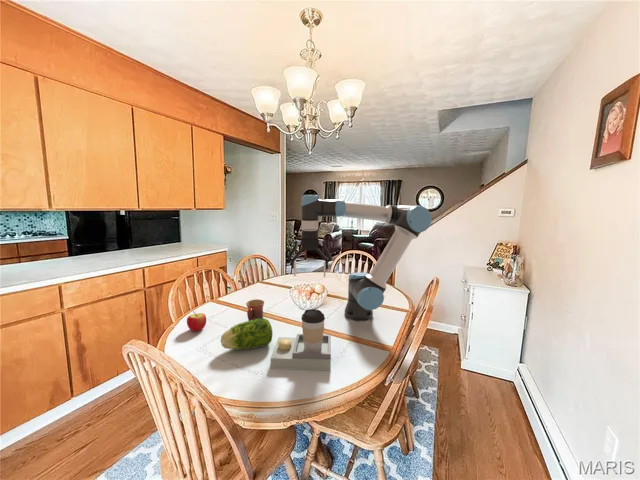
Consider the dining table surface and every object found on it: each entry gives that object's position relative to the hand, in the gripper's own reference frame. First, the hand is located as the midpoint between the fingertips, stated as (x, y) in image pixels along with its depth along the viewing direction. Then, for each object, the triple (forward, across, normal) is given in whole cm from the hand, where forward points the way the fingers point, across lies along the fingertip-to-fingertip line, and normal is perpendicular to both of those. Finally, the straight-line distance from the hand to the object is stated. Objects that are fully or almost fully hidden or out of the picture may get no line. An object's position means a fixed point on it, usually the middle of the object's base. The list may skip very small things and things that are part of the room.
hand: (309, 275), depth 122 cm
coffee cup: (+23, -3, +22) cm, 32 cm away
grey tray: (+27, +1, +22) cm, 35 cm away
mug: (+27, +28, -5) cm, 39 cm away
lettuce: (+27, +25, +16) cm, 40 cm away
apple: (+27, +53, +3) cm, 60 cm away
